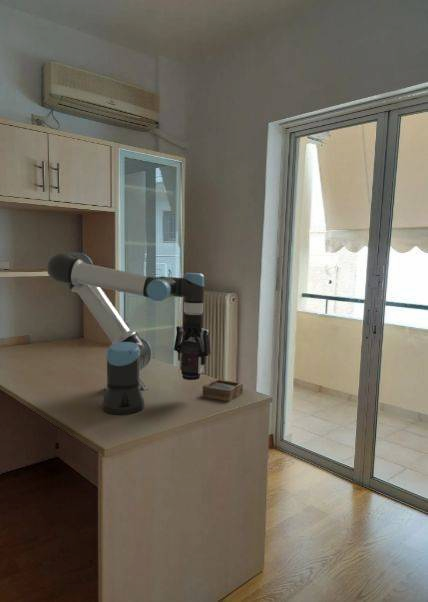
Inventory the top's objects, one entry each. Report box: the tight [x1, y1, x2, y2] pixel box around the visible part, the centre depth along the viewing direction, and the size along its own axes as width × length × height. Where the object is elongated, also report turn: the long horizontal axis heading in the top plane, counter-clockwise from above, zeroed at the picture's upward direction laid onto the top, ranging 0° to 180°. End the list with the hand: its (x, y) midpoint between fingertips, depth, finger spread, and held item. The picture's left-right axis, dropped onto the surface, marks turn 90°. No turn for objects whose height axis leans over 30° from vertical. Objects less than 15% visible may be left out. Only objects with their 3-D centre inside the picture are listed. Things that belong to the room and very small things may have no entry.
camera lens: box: [180, 338, 202, 381], centre depth 173 cm, size 8×8×15 cm
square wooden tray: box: [202, 378, 244, 402], centre depth 181 cm, size 12×12×4 cm
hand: (191, 370), depth 174 cm, fingers closed on camera lens, 8 cm apart
